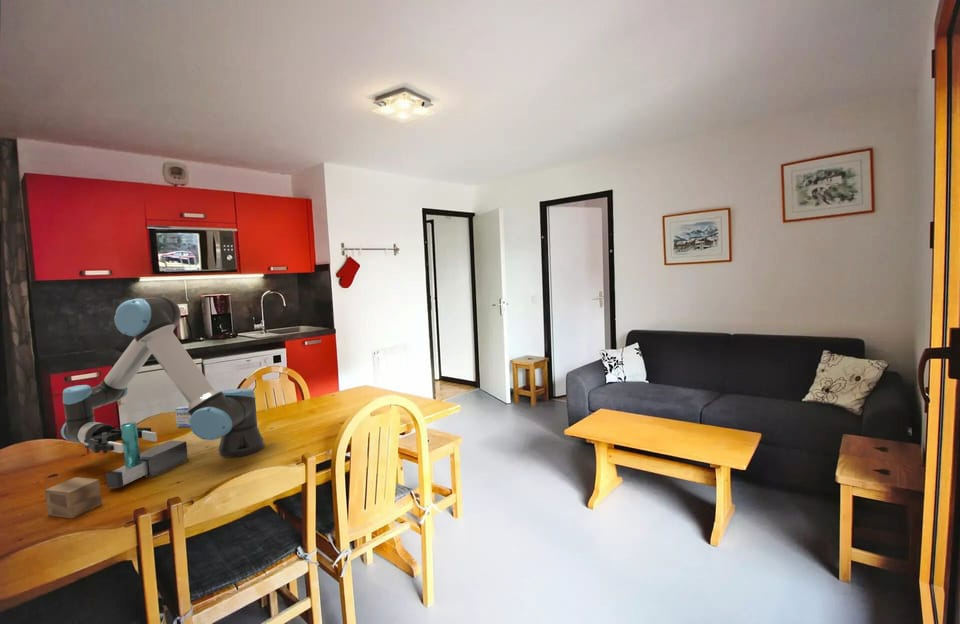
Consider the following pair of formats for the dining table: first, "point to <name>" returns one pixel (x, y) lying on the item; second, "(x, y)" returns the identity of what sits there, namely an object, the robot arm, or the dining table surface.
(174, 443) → the sleeve
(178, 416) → the medicine box
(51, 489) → the socket block
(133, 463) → the sliding bar with handle
